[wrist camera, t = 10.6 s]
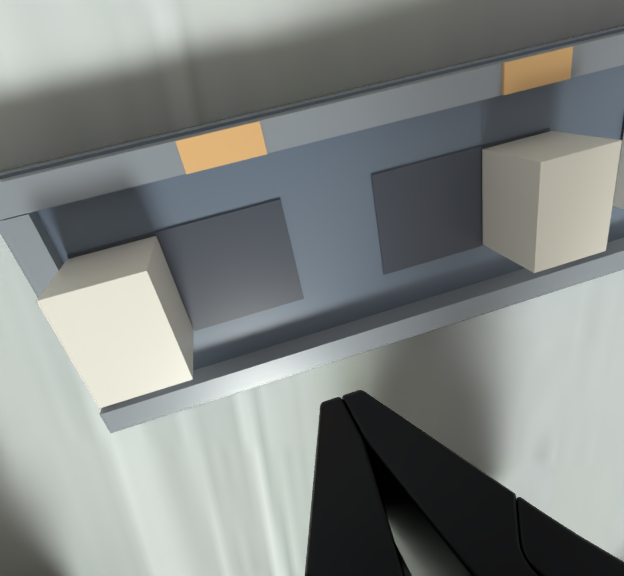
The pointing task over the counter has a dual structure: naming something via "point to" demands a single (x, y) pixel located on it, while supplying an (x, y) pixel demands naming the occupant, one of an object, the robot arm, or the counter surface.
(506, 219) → the off-white rectangular block
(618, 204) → the beige block
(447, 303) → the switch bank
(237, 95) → the counter surface
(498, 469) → the counter surface
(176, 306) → the cream block
